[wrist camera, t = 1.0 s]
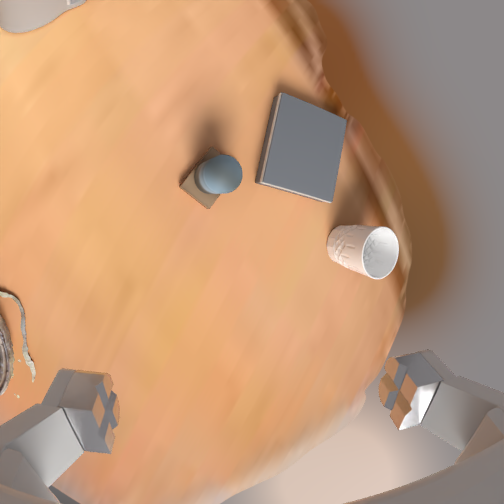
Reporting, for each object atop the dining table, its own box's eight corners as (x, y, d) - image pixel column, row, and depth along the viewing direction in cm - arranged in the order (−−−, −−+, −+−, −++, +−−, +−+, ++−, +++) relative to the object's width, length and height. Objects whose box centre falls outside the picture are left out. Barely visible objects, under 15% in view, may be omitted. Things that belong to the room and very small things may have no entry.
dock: (273, 96, 46) (282, 91, 43) (336, 123, 51) (347, 119, 48) (254, 183, 47) (262, 182, 44) (321, 202, 52) (332, 203, 49)
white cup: (322, 269, 54) (360, 282, 45) (323, 222, 52) (362, 227, 43) (358, 264, 57) (397, 275, 47) (359, 220, 55) (399, 225, 46)
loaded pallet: (206, 208, 45) (222, 210, 38) (179, 187, 43) (189, 184, 36) (235, 170, 46) (256, 164, 39) (209, 148, 44) (225, 138, 37)
